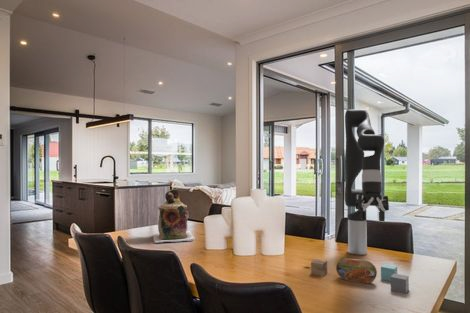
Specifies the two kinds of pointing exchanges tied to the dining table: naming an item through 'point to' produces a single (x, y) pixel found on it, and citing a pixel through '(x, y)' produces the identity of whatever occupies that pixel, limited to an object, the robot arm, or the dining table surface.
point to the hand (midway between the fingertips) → (372, 220)
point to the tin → (356, 270)
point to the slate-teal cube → (388, 271)
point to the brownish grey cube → (319, 267)
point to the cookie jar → (173, 220)
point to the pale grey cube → (399, 283)
